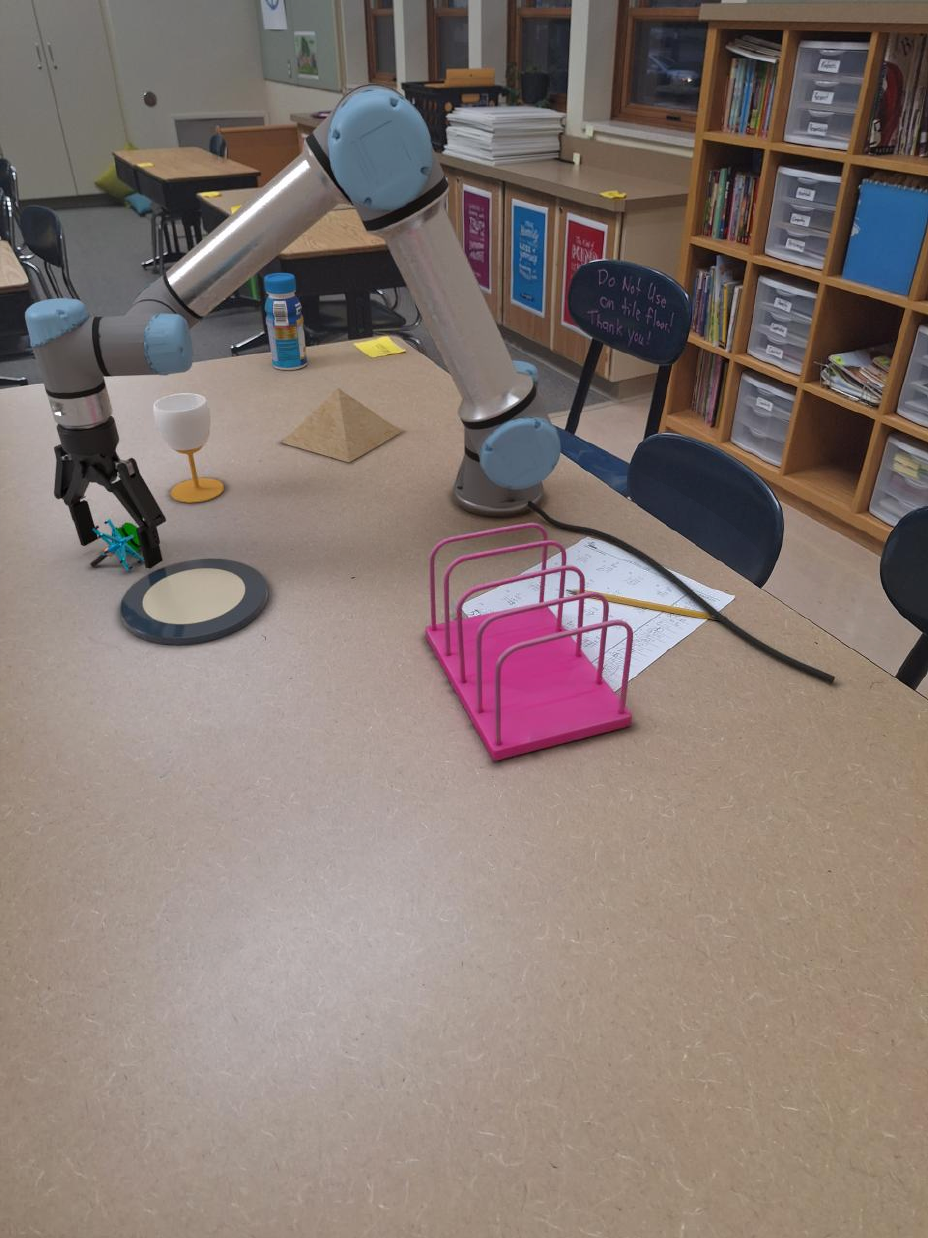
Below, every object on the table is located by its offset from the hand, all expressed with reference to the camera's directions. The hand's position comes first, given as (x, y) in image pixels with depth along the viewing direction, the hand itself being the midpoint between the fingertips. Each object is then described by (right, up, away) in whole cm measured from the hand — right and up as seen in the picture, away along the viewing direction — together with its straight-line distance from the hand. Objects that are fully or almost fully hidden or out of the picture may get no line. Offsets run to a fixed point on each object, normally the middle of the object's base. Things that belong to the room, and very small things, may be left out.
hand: (121, 553), depth 130 cm
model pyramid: (+28, +25, +38) cm, 54 cm away
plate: (+14, -8, -8) cm, 18 cm away
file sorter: (+59, -18, -22) cm, 65 cm away
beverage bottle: (+11, +49, +72) cm, 88 cm away
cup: (+5, +12, +20) cm, 24 cm away
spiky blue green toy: (-1, -1, +2) cm, 2 cm away
